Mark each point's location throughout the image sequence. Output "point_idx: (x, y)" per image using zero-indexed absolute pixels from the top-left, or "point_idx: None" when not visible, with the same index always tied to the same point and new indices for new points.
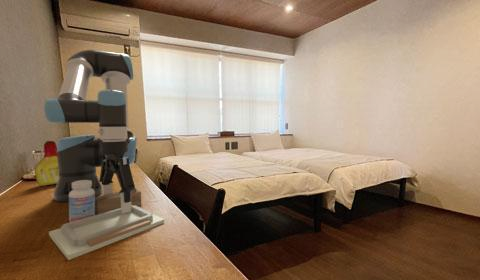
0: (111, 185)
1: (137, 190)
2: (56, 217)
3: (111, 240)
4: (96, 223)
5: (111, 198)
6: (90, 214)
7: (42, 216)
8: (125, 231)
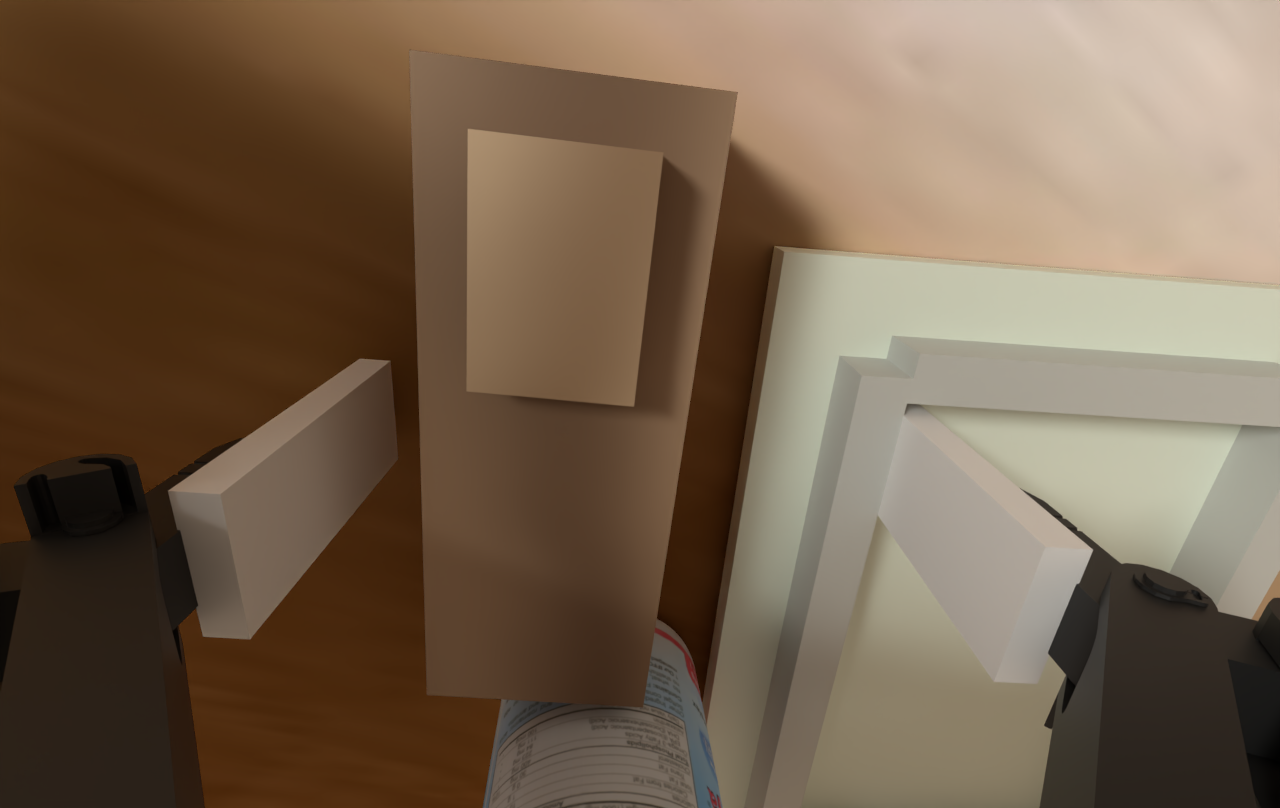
0: (242, 499)
1: (606, 91)
2: (343, 747)
3: None
4: (844, 677)
5: (662, 574)
6: (699, 700)
7: (231, 792)
8: None
